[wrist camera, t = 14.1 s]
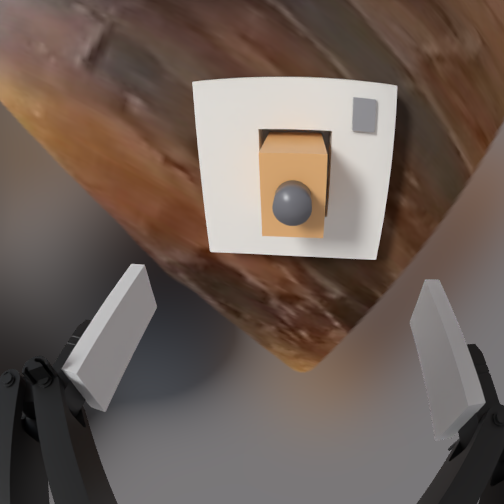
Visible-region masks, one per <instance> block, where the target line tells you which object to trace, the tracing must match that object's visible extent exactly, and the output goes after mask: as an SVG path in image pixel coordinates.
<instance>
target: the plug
mask: <svg viewBox="0 0 504 504" xmlns="http://www.w3.org/2000/svg"><path fill="white" fill-rule="evenodd" d="M327 156H328V154H327V151H326V147H325V144H324V140H323V137H322V133H307V132H269V134H268V136H267V138H266V140H265V141H264V143H263V145H262V147H261V149H260V151H259V174H260V197H261V220H262V236H276V237H304V238H323V234H324V219H325V202H326V183H327Z"/></svg>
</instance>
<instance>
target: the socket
mask: <svg viewBox="0 0 504 504" xmlns="http://www.w3.org/2000/svg"><path fill="white" fill-rule="evenodd" d="M192 85H193V97H194V109H195V121H196V132H197V142H198V152H199V162H200V172H201V181H202V190H203V199H204V207H205V215H206V224H207V232H208V240H209V247H210V252H225V253H245V254H265V255H286V256H306V257H327V258H348V259H369V260H376V257H377V252H378V247H379V242H380V237H381V231H382V226H383V220H384V214H385V208H386V201H387V194H388V187H389V180H390V172H391V163H392V154H393V144H394V133H395V120H396V105H397V86H395V85H390V84H384V83H376V82H368V81H359V80H348V79H335V78H318V77H243V78H225V79H212V80H202V81H195V82H192ZM269 132H307V133H322V137H323V140H324V144H325V147H326V151H327V154H328V156H327V183H326V202H325V219H324V234H323V238H304V237H276V236H262V220H261V197H260V174H259V151H260V149H261V147H262V145H263V143H264V141H265V140H266V138H267V136H268V134H269Z"/></svg>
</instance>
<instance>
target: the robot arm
mask: <svg viewBox="0 0 504 504" xmlns="http://www.w3.org/2000/svg"><path fill="white" fill-rule="evenodd" d="M156 308H157V306H156V302H155V299H154V295H153V292H152V289H151V286H150V282H149V278H148V275H147V271H146V268H145V265H139V264H131V265H130V267H129V268H128V269H127V271H126V272H125V274H124V275H123V276H122V278H121V279H120V281H119V282H118V283H117V285H116V286H115V287H114V289H113V290H112V292H111V293H110V295H109V296H108V297H107V299H106V300H105V302H104V303H103V305H102V306H101V308H100V309H99V311H98V312H97V314H96V315H95V317H94V318H93V320H92V321H91V320H85V321H84V322H83V323H82V324H80V325H79V326H78V327H77V329H76V330H75V332H74V333H73V335H72V337H71V338H70V339H69V341H68V344H66V345H65V347H64V348H63V350H62V351H61V353H60V355H59V356H58V358H57V360H56V361H55V363H54V364H53V366H51V364H50V363H49V362H48V360H47V359H46V358H45V357H43V356H35V357H33V358H31V359H29V360H28V361H27V362H26V363H25V365H24V367H23V370H22V374H23V375H24V376H25V377H22V376H21V374H20V373H19V372H18V371H17V370H15V369H9V370H7V371H5V372H4V373H3V374H2V375H1V377H0V504H49V493H48V492H49V491H48V481H49V485H50V488H51V492H52V495H53V499H54V502H55V504H117V501H116V499H115V497H114V494H113V492H112V489H111V487H110V485H109V482H108V479H107V477H106V474H105V472H104V469H103V466H102V464H101V461H100V457H99V455H98V452H97V449H96V446H95V442H94V439H93V436H92V433H91V429H90V426H89V422H88V419H87V415H86V412H85V409H84V407H83V404H84V402H85V400H86V402H87V403H88V404H89V405H90V406H91V407H92V408H95V409H98V410H101V411H104V412H105V411H106V409H107V407H108V405H109V403H110V401H111V398H112V397H113V394H114V392H115V390H116V388H117V386H118V384H119V382H120V379H121V378H122V375H123V373H124V371H125V369H126V367H127V365H128V363H129V361H130V359H131V357H132V355H133V353H134V351H135V349H136V347H137V345H138V343H139V341H140V339H141V337H142V335H143V333H144V331H145V329H146V327H147V325H148V323H149V322H150V320H151V318H152V316H153V314H154V312H155V310H156ZM410 326H411V329H412V333H413V337H414V340H415V344H416V348H417V352H418V356H419V360H420V364H421V368H422V373H423V377H424V382H425V387H426V391H427V396H428V401H429V407H430V412H431V417H432V423H433V429H434V436H435V440H436V441H437V440H443V439H449V438H452V437H453V436H454V435H455V434H456V433H457V432H458V433H459V439H458V440H457V441H456V442H455V443H454V444H453V445H452V446H450V448H449V449H448V450H449V451H450V450H451V449H452V448H453V449H452V451H451V452H450V454H449V456H448V457H447V459H446V461H445V462H444V464H443V466H442V467H441V469H440V470H439V472H438V474H437V475H436V477H435V478H434V480H433V481H432V483H431V484H430V486H429V487H428V489H427V490H426V492H425V493H424V494H423V496H422V497H421V498H420V500H419V501H418V503H417V504H477V502H478V500H479V499H480V500H479V504H504V406H503V405H501V404H500V403H499V400H498V397H497V394H496V390H495V387H494V384H493V381H492V378H491V375H490V374H489V370H488V367H487V365H486V362H485V359H484V356H483V354H482V352H481V351H480V349H479V348H478V347H477V346H476V345H475V344H468V345H467V344H466V342H465V339H464V336H463V334H462V331H461V329H460V327H459V324H458V321H457V319H456V317H455V314H454V312H453V309H452V307H451V305H450V303H449V300H448V298H447V296H446V294H445V291H444V289H443V287H442V285H441V283H440V281H439V280H433V279H430V280H429V279H425V281H424V284H423V287H422V290H421V293H420V295H419V298H418V301H417V304H416V306H415V309H414V312H413V314H412V317H411V319H410ZM21 417H22V418H21Z"/></svg>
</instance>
